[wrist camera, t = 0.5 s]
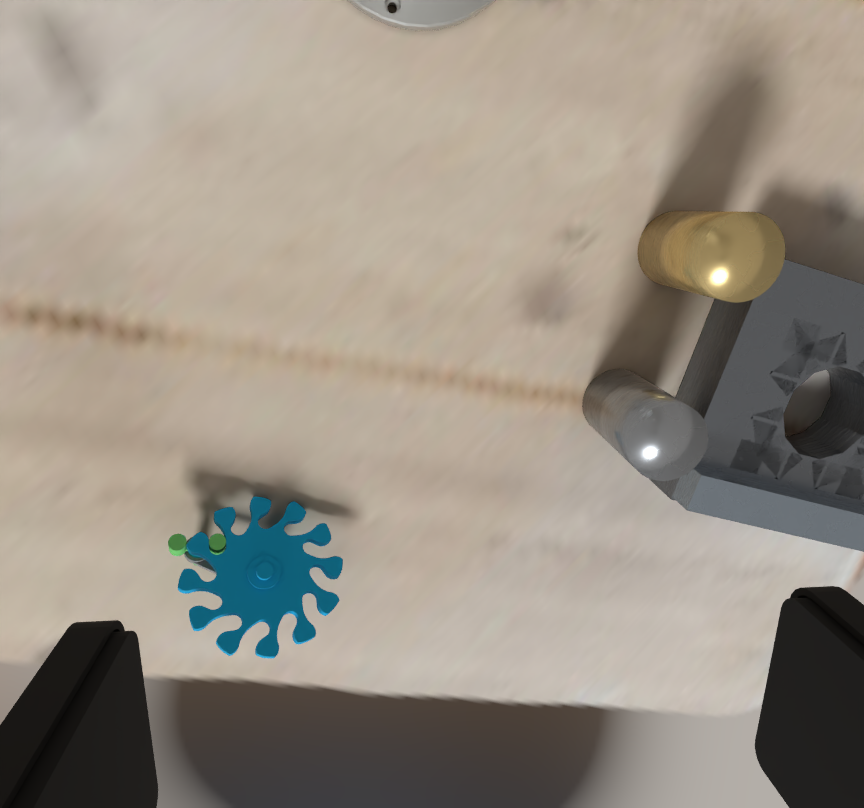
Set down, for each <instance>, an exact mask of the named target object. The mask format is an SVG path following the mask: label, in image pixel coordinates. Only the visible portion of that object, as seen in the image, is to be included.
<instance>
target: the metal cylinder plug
mask: <svg viewBox="0 0 864 808" xmlns="http://www.w3.org/2000/svg"><path fill="white" fill-rule="evenodd" d="M582 407H583V413H584V416H585V419H586V420H587V422H588V423H589V425H590V426H591V427H592V428H593V429H595V430H596V431H597V432H598V433H599V434H600V435H601V436H602V437H603V438H604V439H605V440H606V441H607V442H608V443H609V444H610V445H611V446H612V447H613V448H615V449H616V450H617V451H618V452H619V453H620V454H621V455H622V456H623V457H624V458H625V459H626V460H627V461H628V462H629V463H630V464H631V465H632V466H633V467H634V468H636V469H637V470H638V471H639V472H640V473H641V474H642V475H644V476H645V477H647V478H649V479H653V480H657V481H669V480H674V479H677V478H680V477H682V476H684V475H685V474H687V473H689V472H690V471H691V470H692V469H694V468H695V467H696V466H697V464H698V463H699V462H700V461H701V459H702V457H703V456H704V453H705V451H706V448H707V444H708V429H707V426H706V423H705V421H704V419H703V418H702V416H701V415H700V414H699V413H698V412H697V411H696V410H694V409H693V408H691V407H690V406H688V405H686V404H685V403H683V402H681V401H680V400H678V399H676V398H675V397H673V396H671V395H670V394H668V393H667V392H665V391H663V390H662V389H660V388H658V387H657V386H655V385H653V384H652V383H650V382H648V381H647V380H645V379H643V378H642V377H640V376H638V375H637V374H635V373H633V372H631V371H628V370H624V369H614V370H610V371H607V372H604V373H602V374H601V375H599V376H598V377H596V378H595V379H594V380H593V381H592V382H591V383H590V385H589V386H588V388H587V389H586V392H585V394H584V397H583V405H582Z"/></svg>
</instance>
